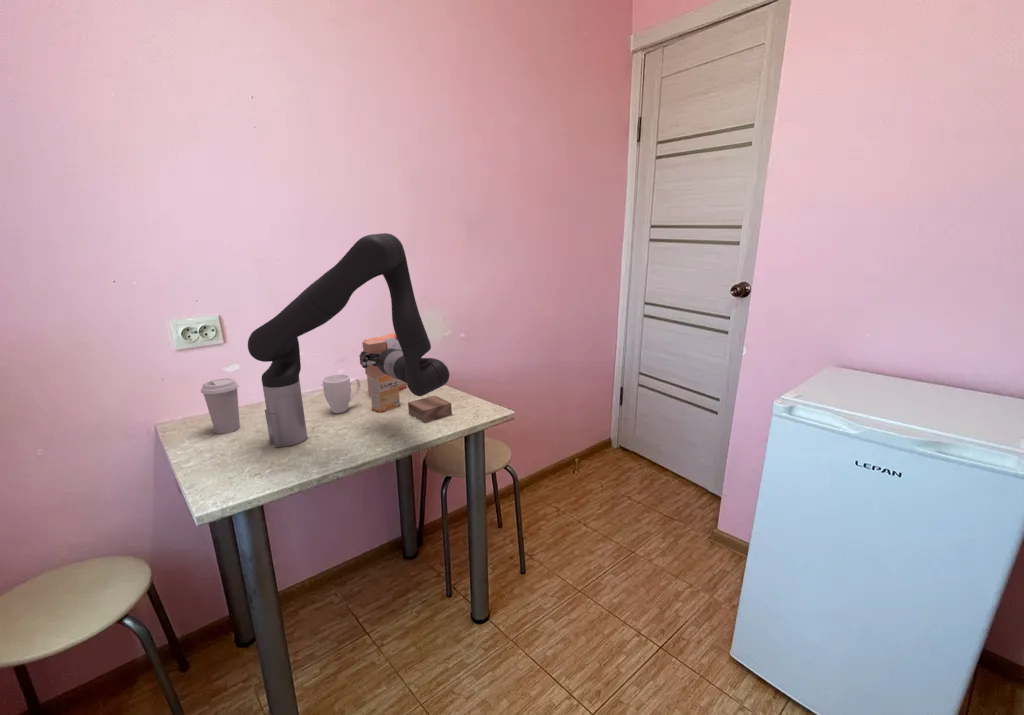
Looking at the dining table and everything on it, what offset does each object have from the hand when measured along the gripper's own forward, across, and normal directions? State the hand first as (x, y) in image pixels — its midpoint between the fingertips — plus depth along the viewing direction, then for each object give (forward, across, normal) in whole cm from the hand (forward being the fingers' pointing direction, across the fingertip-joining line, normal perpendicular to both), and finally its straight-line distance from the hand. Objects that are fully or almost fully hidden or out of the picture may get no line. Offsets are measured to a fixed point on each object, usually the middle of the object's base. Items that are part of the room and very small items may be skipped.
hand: (371, 353), depth 139 cm
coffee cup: (+24, +37, +22) cm, 50 cm away
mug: (+16, +4, +22) cm, 28 cm away
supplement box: (+8, -7, +22) cm, 25 cm away
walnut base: (-7, -15, +22) cm, 27 cm away
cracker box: (+23, -15, +22) cm, 35 cm away
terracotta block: (-3, 0, +6) cm, 7 cm away
